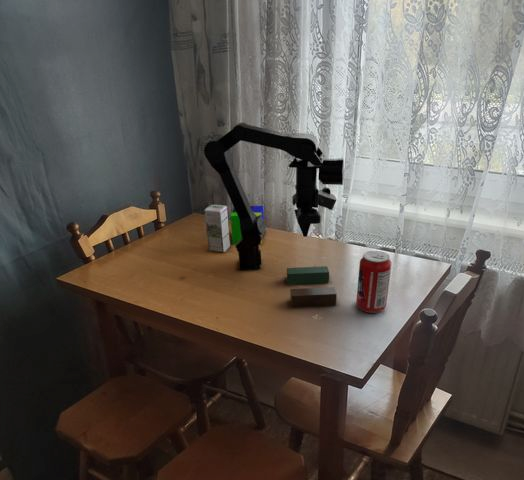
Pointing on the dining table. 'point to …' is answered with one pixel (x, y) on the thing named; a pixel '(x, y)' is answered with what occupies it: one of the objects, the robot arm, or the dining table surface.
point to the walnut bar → (313, 297)
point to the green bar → (307, 275)
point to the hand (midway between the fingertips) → (305, 236)
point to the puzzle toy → (236, 223)
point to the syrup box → (217, 228)
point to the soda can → (373, 281)
